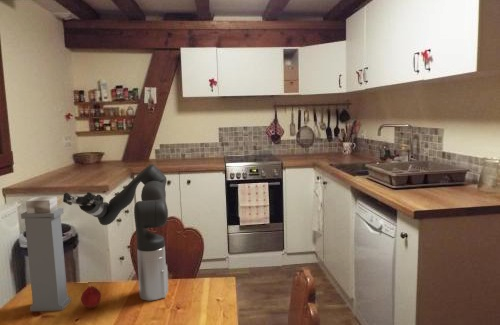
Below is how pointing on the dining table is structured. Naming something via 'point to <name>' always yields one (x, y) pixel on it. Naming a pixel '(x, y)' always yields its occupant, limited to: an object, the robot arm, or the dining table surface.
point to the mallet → (43, 204)
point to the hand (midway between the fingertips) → (76, 194)
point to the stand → (46, 260)
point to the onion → (90, 297)
